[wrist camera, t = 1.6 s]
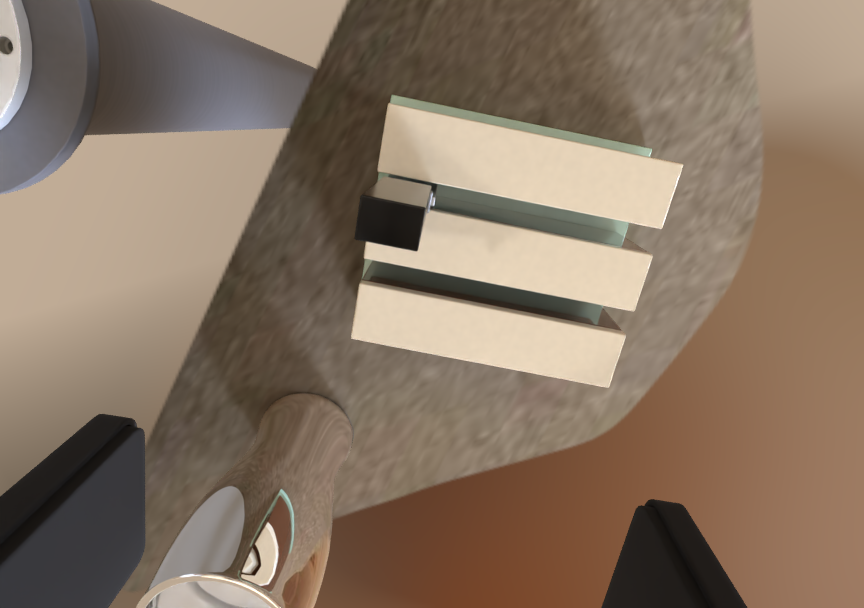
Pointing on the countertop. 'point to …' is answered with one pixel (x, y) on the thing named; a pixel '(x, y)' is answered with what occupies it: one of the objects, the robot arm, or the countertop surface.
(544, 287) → the slatted panel
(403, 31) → the countertop surface
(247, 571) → the beer glass
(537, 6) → the countertop surface
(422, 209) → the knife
